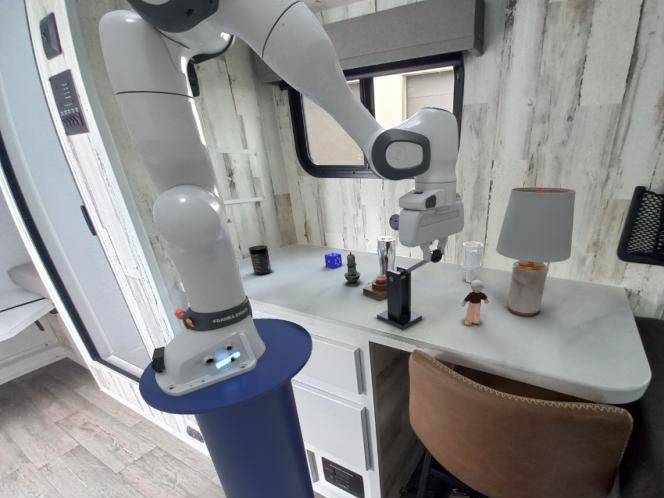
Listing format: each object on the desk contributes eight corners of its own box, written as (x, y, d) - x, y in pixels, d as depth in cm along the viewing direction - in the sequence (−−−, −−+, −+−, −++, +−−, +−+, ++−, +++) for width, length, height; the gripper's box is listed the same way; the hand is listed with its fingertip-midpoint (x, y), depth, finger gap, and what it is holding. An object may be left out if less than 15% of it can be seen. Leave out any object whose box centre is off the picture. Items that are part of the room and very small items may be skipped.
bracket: (421, 319, 87) (422, 269, 81) (403, 330, 82) (402, 278, 75) (395, 308, 93) (395, 262, 87) (377, 318, 88) (374, 269, 82)
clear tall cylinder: (467, 285, 109) (471, 244, 103) (456, 279, 115) (459, 239, 109) (483, 282, 112) (488, 242, 106) (471, 276, 118) (475, 237, 112)
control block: (379, 300, 99) (379, 289, 97) (363, 294, 104) (362, 283, 102) (400, 291, 105) (400, 280, 104) (383, 285, 110) (383, 275, 109)
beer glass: (375, 275, 120) (374, 237, 113) (392, 273, 122) (391, 235, 116) (382, 281, 114) (380, 241, 108) (399, 278, 116) (398, 239, 110)
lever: (447, 258, 72) (441, 245, 71) (439, 261, 69) (433, 248, 69) (402, 281, 84) (397, 270, 84) (394, 284, 82) (389, 273, 82)
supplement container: (269, 275, 121) (264, 249, 117) (251, 276, 121) (246, 250, 116) (274, 269, 128) (269, 245, 123) (257, 270, 127) (251, 245, 122)
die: (325, 266, 131) (324, 255, 128) (334, 263, 134) (333, 252, 132) (333, 268, 128) (332, 257, 126) (342, 265, 132) (341, 254, 130)
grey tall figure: (352, 279, 116) (350, 248, 111) (364, 282, 113) (362, 251, 108) (341, 284, 112) (338, 252, 107) (353, 287, 109) (350, 255, 104)
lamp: (482, 296, 101) (495, 187, 86) (541, 297, 100) (563, 186, 86) (497, 325, 83) (516, 194, 69) (568, 326, 83) (602, 193, 68)
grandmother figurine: (466, 328, 82) (470, 284, 77) (458, 322, 85) (461, 279, 80) (489, 322, 85) (494, 279, 80) (480, 316, 88) (485, 275, 83)
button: (381, 285, 101) (381, 280, 100) (374, 283, 103) (373, 278, 102) (389, 282, 103) (389, 277, 102) (381, 280, 105) (381, 275, 105)
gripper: (450, 191, 75) (447, 246, 81) (392, 200, 61) (394, 265, 67) (472, 192, 71) (468, 250, 77) (417, 202, 58) (417, 271, 63)
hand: (433, 257), depth 72 cm, fingers closed on lever, 3 cm apart
